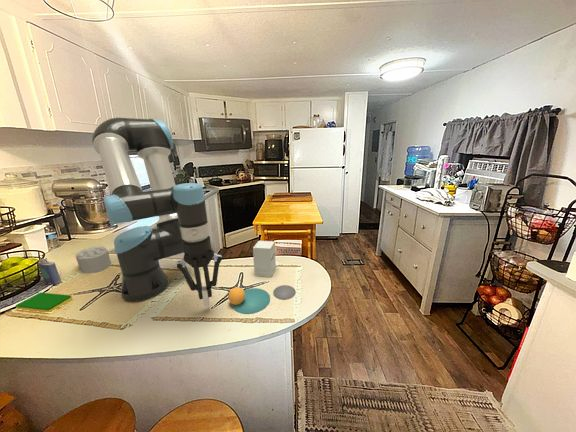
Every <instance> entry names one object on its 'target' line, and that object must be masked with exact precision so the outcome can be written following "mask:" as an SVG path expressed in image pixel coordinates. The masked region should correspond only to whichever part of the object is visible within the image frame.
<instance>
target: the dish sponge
mask: <svg viewBox="0 0 576 432" xmlns="http://www.w3.org/2000/svg"><path fill="white" fill-rule="evenodd" d="M70 301H71V302H72V301H73V297H72V294H59V293H48V292H38V293H36V294H35V295H33V296H31V297H29V298H27V299H25V300H23V301H21V302H19V303H17V304H16V305H15V307H16V310H17V309H22V310H29V311H39V312H52V311H53V310H55V309H57V308H59V307H60V306H62V305H64V306H65V304H66V305H67V304H69V303H70ZM68 302H69V303H68ZM62 307H63V306H62ZM59 309H60V308H59ZM57 310H58V309H57ZM29 311H28V312H29Z"/></svg>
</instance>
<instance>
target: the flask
mask: <svg viewBox="0 0 576 432" xmlns="http://www.w3.org/2000/svg"><path fill="white" fill-rule="evenodd" d="M38 261H39V262H38ZM38 261H37V262H38V263H37V265H38V267H39V270H40V273H41V275H42V279H43V282H44V281H45V282H47V283H51V284H50V285H52V284H53V285H52V286H54V285H55V286H56V285H59V284H61V283H62V280H61V276H60V273H59V271H58V269H57V266H56V263H55V262H53V261H48V258H47V257H45V258H40V259H39V260H38ZM45 282H44V283H45ZM47 283H46V284H47Z"/></svg>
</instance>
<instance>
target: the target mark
mask: <svg viewBox="0 0 576 432" xmlns="http://www.w3.org/2000/svg"><path fill="white" fill-rule="evenodd" d="M243 290H244V292H245V298H244V300H243V302H242V303H240V304H238V305H234V304H232V303H231V307H232V309H233V310H234V311H235V312H237V313H240V314H243V315H244V314H245V315H251V314H255V313H259V312H261V311H262V310H264V309H266V307H268V305H270V302H271V296H270V294H269V292H267V291H266V290H264V289H262V288H257V287H252V288H246V289H243Z"/></svg>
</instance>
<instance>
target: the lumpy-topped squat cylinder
mask: <svg viewBox="0 0 576 432" xmlns="http://www.w3.org/2000/svg"><path fill="white" fill-rule="evenodd" d="M75 259H76V262H77V265H78V268H79V270H80V272H82V273H83V274H96V273H99V272H103V271H105V270H107V269H109V268H110V267H111V265H112V260H111V257H110V255H109V250H108V249H107V248H106V247H105V246H103V245H102V246H91V247H88V248H84V249H82V250H80V251H79V252H77V253H75Z"/></svg>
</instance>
